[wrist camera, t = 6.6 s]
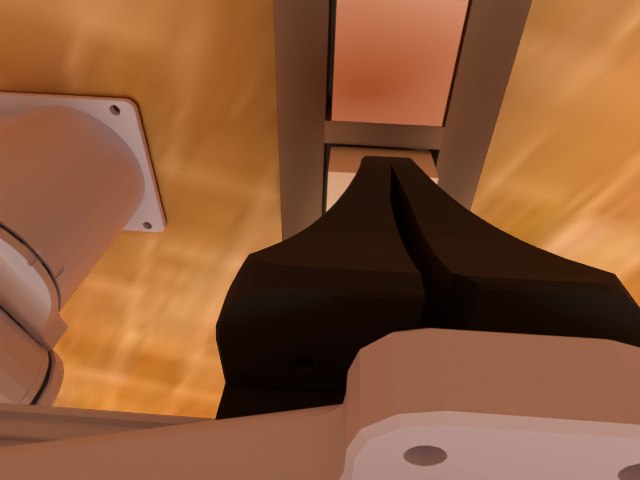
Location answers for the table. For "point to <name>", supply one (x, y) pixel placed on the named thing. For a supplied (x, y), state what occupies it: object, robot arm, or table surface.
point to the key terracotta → (395, 60)
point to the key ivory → (349, 160)
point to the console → (443, 142)
